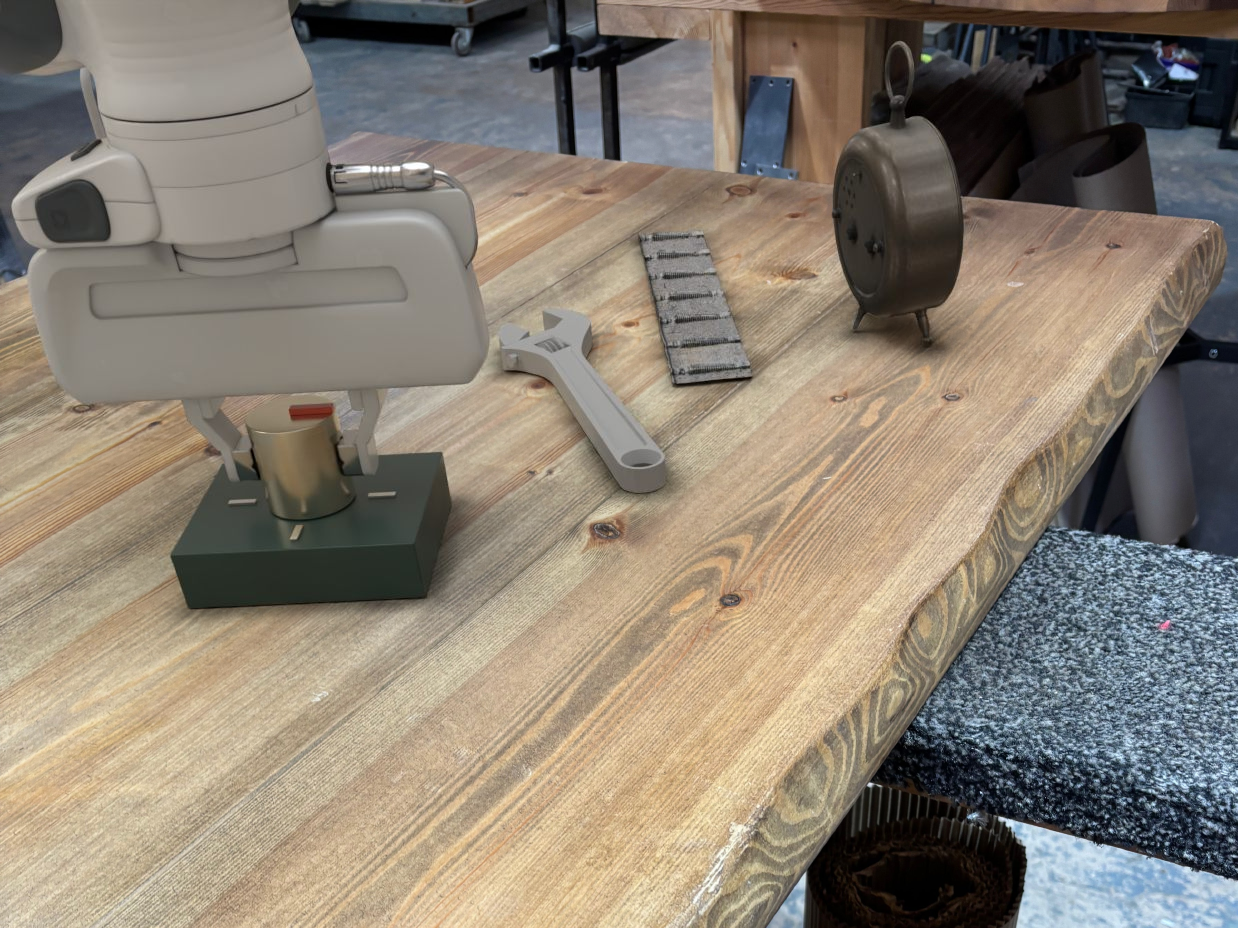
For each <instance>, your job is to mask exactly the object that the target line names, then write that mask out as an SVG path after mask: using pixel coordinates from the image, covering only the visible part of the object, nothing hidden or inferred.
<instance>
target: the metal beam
mask: <svg viewBox="0 0 1238 928" xmlns="http://www.w3.org/2000/svg"><path fill="white" fill-rule="evenodd" d="M704 235H705V234H704V231H702V229H696V230H685V231H673V232H662V231H661V232H651V233H645V234H639V233H637V236H638V240H639V245H640V249H641V253H642V256H643V260H644V266H645V269H646V270H645V271H646V274H647V277H648V282H649V286H650V290H651V295H652V298H653V304H654V308H655V312H656V317H657V319H658V326H659V330H660V334H661V339H662V343H663V344H664V350H665V355H666V358H667V361H668V362H667V365H668V369H669V371H670V378H671V382H672V384H673V385H674V384H688V383H696V382H705V381H713V380H714V381H716V380H723V379H724V380H725V379H738V378H748V377H753V376H754V375H753V371H752V370H751V363H750V361H749V359H748V358H747V355H746V353H745V350H744V347H743V343H742V338H741V335H740V334H739V332H738V329H737V326H736V324H735V321H734V317H733V314H732V311H731V310H730V309H731V308H730V307H729V304H728V301H727V299H726V296H725V295H726V293H725V290H724V289H723V287H722V285H721V282H720V279H719V276H718V271H717V268H716V267H715V265H714V262H713V260H712V257H711V251H710V249H709V248H708V244H707V242H706V240H705V236H704Z"/></svg>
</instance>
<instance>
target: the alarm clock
mask: <svg viewBox="0 0 1238 928" xmlns="http://www.w3.org/2000/svg"><path fill="white" fill-rule="evenodd" d="M897 49H902V50H903V53H904V55H905V57H906V60H907V67H908V75H909V76H908V85H907V90H906V93H905V96H904V95H900V94H897V95H894V94H893V90H892V86H891V80H890V66H891V62H892V58H893V55H894V54H895V51H896V50H897ZM884 63H885V64H884V85H885V89H886V92H887V96H888V98H889V100H890V101H889V107H890V109H891V113H890V120H889V122H886V123H882V124H876V125H871V126H868V127H865V128H864V127H863V128H861V129H859V130H858V131H856V132H854V134H853V135H851V136H850V138H849V139H848V140H847V142H846V143H845V144H844V147H843V149H842V150H841V152H840V155H839V158H838V161H837V164H836V168H835V173H834V179H833V187H832V211H831V219H832V222H833V230H834V239H835V245H836V249H837V254H838V258H839V263H840V266H841V269H842V272H843V275H844V278H845V282H846V283H847V285H848V288H849V290H850V291H851V293H852V295H853V297H854V299H855V300H856V301H857V305H858V306H859V307H858V309H857V313H856V316H855V319H854V321H853V324H852V327H851V329H852V331H853V332H855V331H857V330H858V328H859V327H860V324H861V323H862V320H863V319H864V317H865V316H866V314H868V315H871V316H873V317H874V318H878V319H883V320H887V319H893V318H897V317H902V316H905V315H910V314H914V316H915V319H916V323H917V327H918V329H919V332H920V333H921V335H922V339H921V344H922V346H923V347H925V348H927V347H930V346H932V344H933V338H932V337H931V328H930V327H931V326H930V321H929V317H928V314H927V313H928V312H927V311H928V310H930V309H936V308H939V307H941V306H942V305H944V303H945V302H946V301H947V300H948V299H949V297H950V296H951V294H952V292H953V290H954V288H955V286H956V283H957V280H958V278H959V273H960V269H961V263H962V258H963V250H964V237H965V235H964V234H965V226H964V225H965V224H964V223H965V221H964V210H963V201H962V194H961V187H960V183H959V178H958V177H959V176H958V174H957V169H956V165H955V162H954V159H953V157H952V155H951V151H950V149H949V147H948V145H947V142H946V140H945V138H944V136H943V135H942V134H941V133H942V132H940V130H939V129H938V128H937V127H936V125H934V124H933V123H932V122H931V121H930V120H928V119H927V118H925V117H923V116H919V115H913V116H911V117H909V118H906V114H905V108H906V107H907V102H908V100H909V98H910V97H911V95H912V93H913V86H914V82H915V63H914V58H913V54H912V51H911V49H910V47H909V46H908V45H907V44H906V43H905V41H901V40H899V41H898V40H897V41H895V42H894V43H893V44H892V45H891V46H890V48H889V49H888V52H887V53H886V58H885V62H884Z"/></svg>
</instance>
